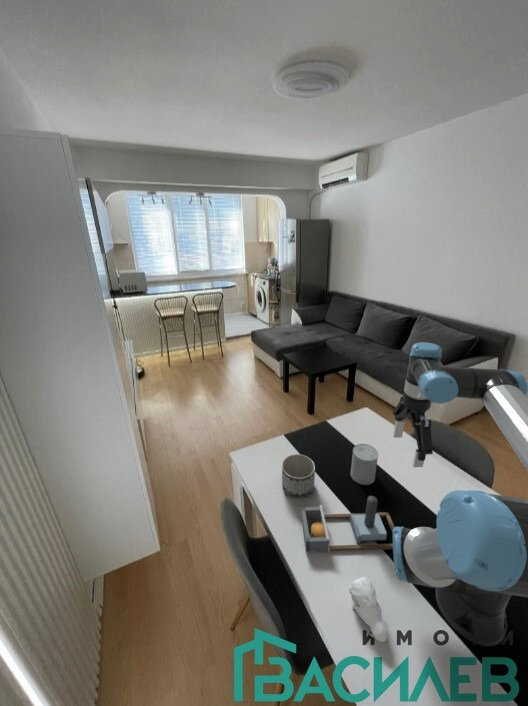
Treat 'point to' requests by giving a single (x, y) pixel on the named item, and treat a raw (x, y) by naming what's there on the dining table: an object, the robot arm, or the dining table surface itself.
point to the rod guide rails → (360, 547)
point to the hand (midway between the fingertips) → (406, 450)
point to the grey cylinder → (364, 464)
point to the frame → (310, 543)
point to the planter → (298, 475)
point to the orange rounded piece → (317, 530)
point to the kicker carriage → (368, 523)
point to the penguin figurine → (368, 607)
